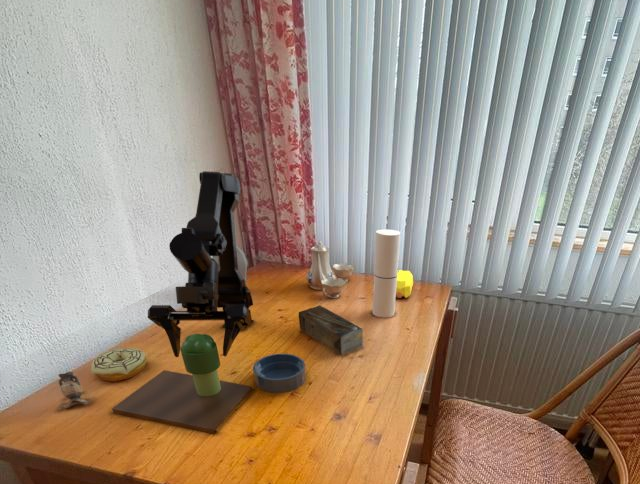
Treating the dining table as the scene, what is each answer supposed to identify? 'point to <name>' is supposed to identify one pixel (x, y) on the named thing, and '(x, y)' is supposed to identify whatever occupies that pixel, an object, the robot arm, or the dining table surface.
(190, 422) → the board
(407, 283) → the orange-capped yellow polyhedron
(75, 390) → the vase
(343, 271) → the chinaware
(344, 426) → the dining table surface
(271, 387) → the bowl
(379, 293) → the cylindrical container
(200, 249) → the robot arm
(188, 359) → the broccoli
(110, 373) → the decorated donut
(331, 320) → the beverage carton
